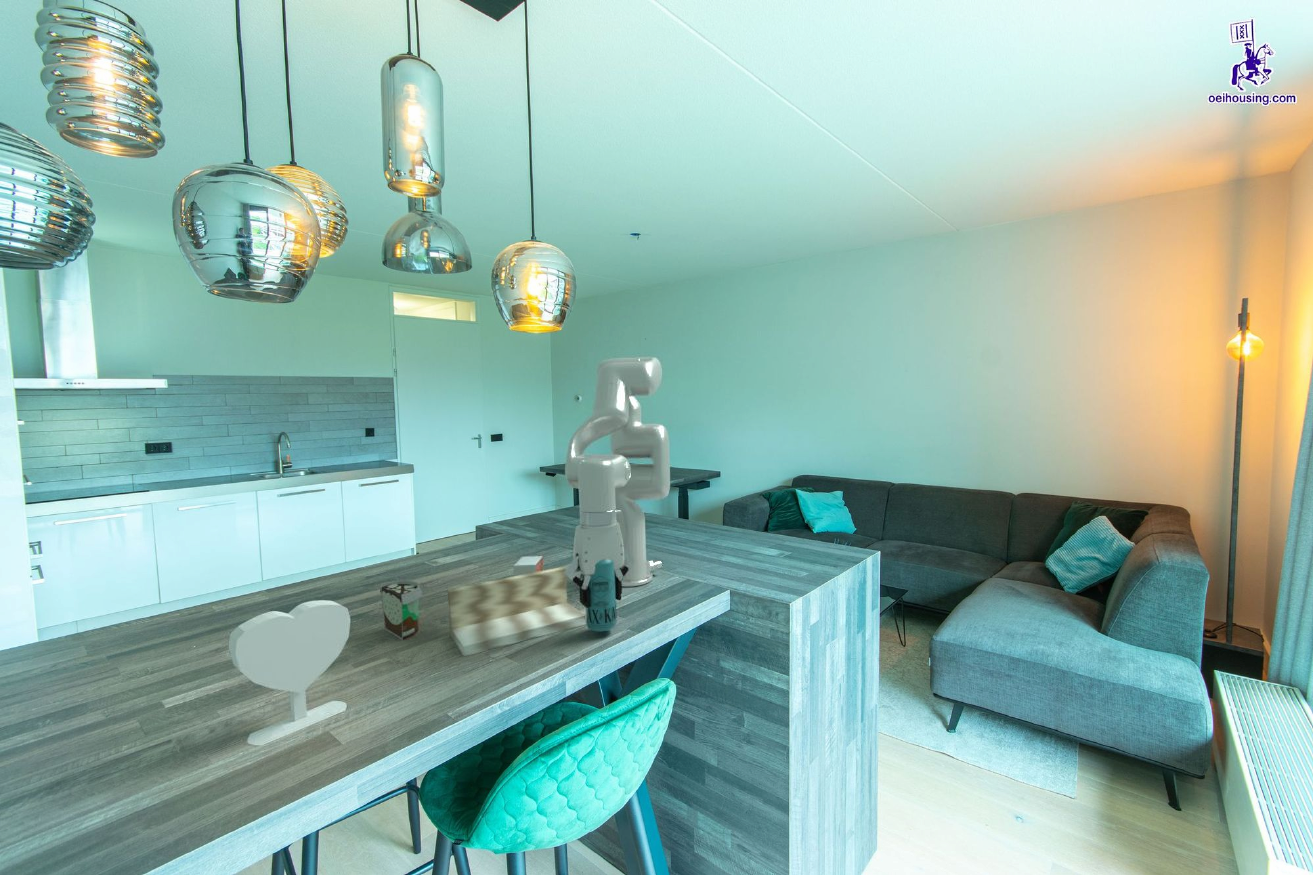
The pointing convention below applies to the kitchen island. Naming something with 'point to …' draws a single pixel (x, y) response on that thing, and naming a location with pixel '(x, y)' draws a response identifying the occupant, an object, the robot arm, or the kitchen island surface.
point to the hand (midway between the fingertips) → (601, 601)
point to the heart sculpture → (291, 658)
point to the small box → (528, 565)
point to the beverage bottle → (602, 597)
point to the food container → (401, 607)
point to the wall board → (510, 610)
